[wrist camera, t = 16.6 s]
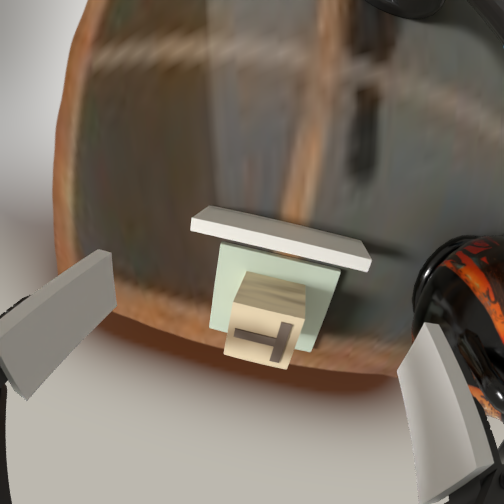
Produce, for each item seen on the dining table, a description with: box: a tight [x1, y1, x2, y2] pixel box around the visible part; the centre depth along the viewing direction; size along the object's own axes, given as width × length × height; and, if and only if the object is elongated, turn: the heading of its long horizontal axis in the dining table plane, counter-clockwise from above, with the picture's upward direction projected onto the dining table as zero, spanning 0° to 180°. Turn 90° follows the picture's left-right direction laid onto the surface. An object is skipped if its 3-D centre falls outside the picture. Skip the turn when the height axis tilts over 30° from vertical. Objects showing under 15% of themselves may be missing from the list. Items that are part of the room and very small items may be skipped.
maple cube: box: [224, 271, 305, 369], centre depth 35 cm, size 8×8×8 cm
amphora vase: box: [412, 236, 504, 464], centre depth 21 cm, size 22×22×28 cm
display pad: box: [209, 241, 341, 352], centre depth 39 cm, size 14×16×1 cm
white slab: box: [190, 205, 372, 272], centre depth 33 cm, size 3×20×6 cm, turn 79°
